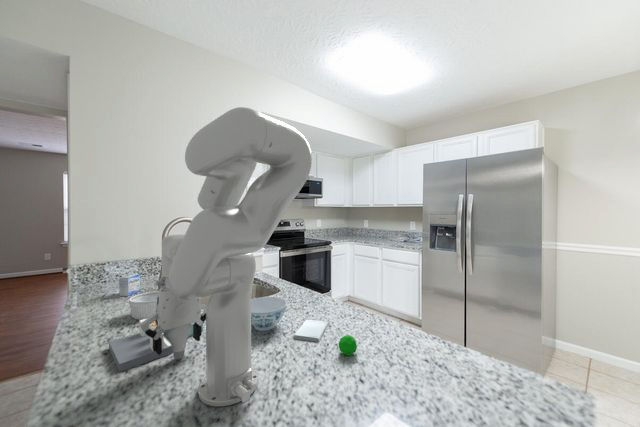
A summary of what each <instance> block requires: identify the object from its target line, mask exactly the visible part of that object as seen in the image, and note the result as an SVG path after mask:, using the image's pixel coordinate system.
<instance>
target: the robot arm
mask: <svg viewBox="0 0 640 427" xmlns="http://www.w3.org/2000/svg"><path fill="white" fill-rule="evenodd" d="M312 160H313V158H312V150H311V148H310V144H309V141H308V140H307V139H306V138H305V136H304V135H303V134H302V133H301V132H300V131H299V130H298V129H297V128H295V127H293V126H291V125H289V124H287V123H285V122H283V121H280V120H278V119H275V118H273V117H272V116H271V117H270V116H268V115H266V114H265V113H262V112H260V111H257V110H254V109H252V108H249V107H243V106H241V107H240V106H239V107H238V106H237V107H235V108H231V109H229V110H228V111H226V112H225V113H223V114H222V115H219V116H218V117H217V118H215V119H214V120H212V121H210V122H209V123H207V124H206V125H204V126H203V127H202V128H201V129H199V130H198V131H197V132H196V133H195V134H193V136H192V137H191V139H190V140H189V142H188V144H187V146H186V148H185V152H184V161H185V165H186V167H187V169H188V171H189V172H191V173H192V174H194V175H196V176H200V177H205V179H204V180H203V184H202V186H201V188H200V191H199V193H198V196H197V203H198V205H199V206H200V208H201V209H202V210H201V211H199V212H198V213H197V214H196V215H195V216H194V217H193V218H192V220H191V221H190V223H189V225H188V227H187V230H186V231H185V234H170V235H166V236H164V237H163V238H162V241H161V276H160V279H159V280H155V286H156V287H160V288H159V289H158V291H159V292H158V297H157V303H156V312H155V313H154V314H153V315H152V316H150V317H149V318H147V319H146V320H145V321H143V322H142V323H141V324H140V325H139V326H140V328H141V329H142V330H143V331H144V332H145V334H146V335H148V336H149V337H151V338H153V351H156V353H157V354H158V355H160V354H161V353H162V339H161V338H160V336H161V334H162V333H163V332H164V331H166V330H170V329H174V328H177V327H179V326H183V325H187V324H191V323H194V322H195V323H194V325H193V335H192V337H193V339H194V340H195V341H196V342H201V336H202V333H203V332H202V325H203V326H204V322H205V347H206V348H205V352H206V353H205V355H206V356H205V357H206V359H205V364H206V366H205V368H206V369H205V371H206V372H205V377H204V378H203V379H202V381H201V382H200V383H199V385H198V398H199V400H200V401H201V402H202V403H203V404H205V405H207V406H211V407H227V406H232V405H234V404H238V403H240V402H242V403H246V402H248V401H249V400H250V398H251V395H252V394H253V393H254V392H255V391H256V390H257V387H258V385H259V374H258V372H257V370H255V369H254V368H253V367H252V325H251V299H253V295H252V294H253V285H254V281H255V277H256V276H255V275H256V268H257V265H256V264H257V263H256V258H255V256H254V253H255V252H258V251H260V250H261V249H263V248H264V247H265V245H266V244H267V243H268V242H269V240H270V238H271V236H272V234H274V232H275V230H276V228H277V227H278V226H279V223H280V222H281V220H282V219H283V217H284V215H285V214H286V212H287V210H288V208H289V207H290V205H291V204H292V202H293V201H294V200H295V198H296V196H298V194H299V193H300V191H301V190H302V188H303V187H304V185H305V183H306V182H307V180H308V178H309V175H310V174H311V173H310V172H311V169H312V162H313V161H312ZM258 163H259V164H263V165H268V166H269V169H267V170H266V171H265V172H264V173H262V174H261V175H260V176H258V177H257V178H255V180H254V181H253V182H252V183H251V185H250V186H249V187H248V184H249V182H250V180H251V178H252V175H253V173H254V171H255V170H256V167H257V164H258ZM247 187H248V189H247V191H246V193H245V195H244V197H243V194H244V192H245V190H246V188H247ZM242 197H243V198H242ZM241 199H242V200H241ZM208 296H210V297H209V299H208V303H207V304H204V303H201V299H202V298H205V297H208ZM202 310H203V311H202ZM151 323H156V325H157V326H156V327H155V329H154V330H151V329H149V325H150V324H151Z"/></svg>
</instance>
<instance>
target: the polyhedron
mask: <svg viewBox="0 0 640 427" xmlns="http://www.w3.org/2000/svg"><path fill="white" fill-rule="evenodd" d="M357 348H358V346H357V340H356V338H354V337H353V336H351V335H349V334H346V335H344V336H342V337H341V338H340V339H339V341H338V349H339V351H340V352H341V353H342V354H343V355H346V356H351V355H353V354H354V353H356V351H357Z"/></svg>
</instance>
